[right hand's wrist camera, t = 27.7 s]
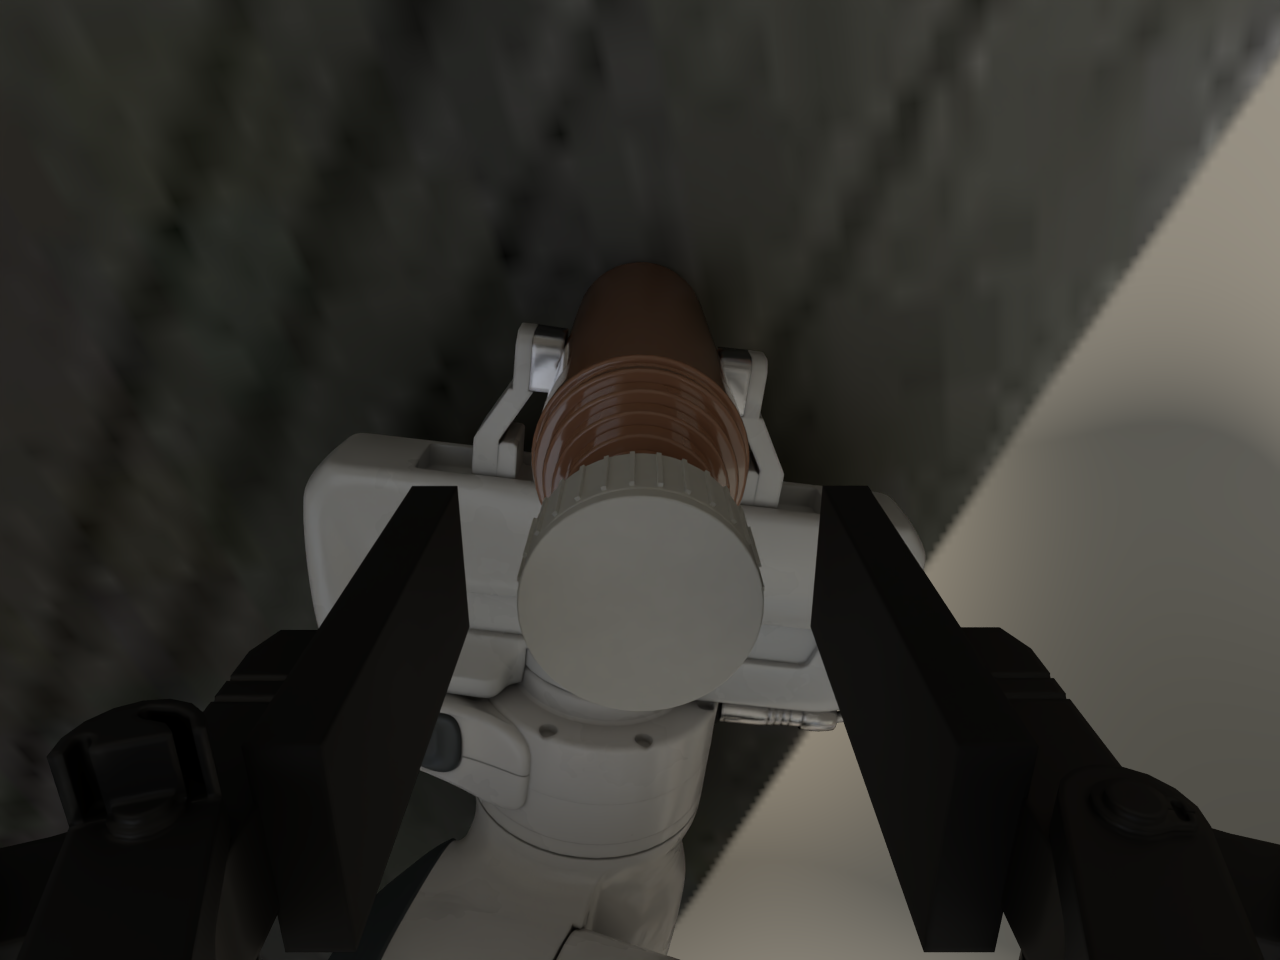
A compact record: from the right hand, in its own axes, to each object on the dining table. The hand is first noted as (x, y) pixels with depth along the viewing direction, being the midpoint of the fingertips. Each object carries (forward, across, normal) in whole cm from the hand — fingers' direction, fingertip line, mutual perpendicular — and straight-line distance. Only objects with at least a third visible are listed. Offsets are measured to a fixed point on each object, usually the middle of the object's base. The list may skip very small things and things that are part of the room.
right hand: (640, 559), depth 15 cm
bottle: (+20, 0, 0) cm, 20 cm away
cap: (-1, 0, 0) cm, 1 cm away
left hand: (+13, 0, -1) cm, 13 cm away
